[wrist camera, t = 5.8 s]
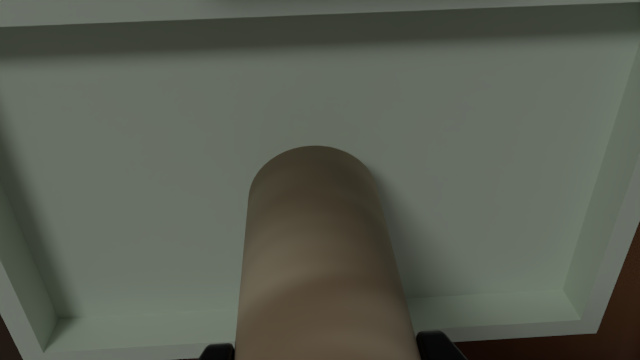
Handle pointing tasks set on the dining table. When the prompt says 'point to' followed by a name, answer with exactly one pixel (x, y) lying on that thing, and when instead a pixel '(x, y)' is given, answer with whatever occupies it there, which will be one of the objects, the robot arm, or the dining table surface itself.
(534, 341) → the dining table surface
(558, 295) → the tray
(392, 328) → the dowel
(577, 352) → the dining table surface
